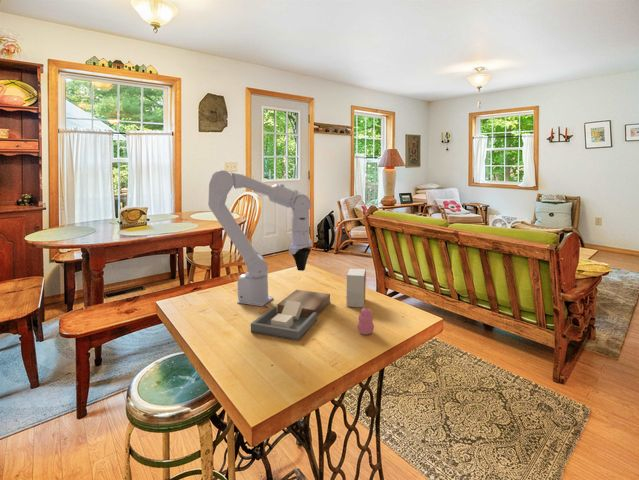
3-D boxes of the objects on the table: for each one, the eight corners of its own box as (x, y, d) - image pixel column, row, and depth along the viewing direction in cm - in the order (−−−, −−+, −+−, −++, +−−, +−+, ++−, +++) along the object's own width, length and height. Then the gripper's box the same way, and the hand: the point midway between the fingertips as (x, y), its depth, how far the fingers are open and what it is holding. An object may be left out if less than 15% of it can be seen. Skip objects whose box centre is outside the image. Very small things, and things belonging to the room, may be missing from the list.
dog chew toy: (358, 328, 101) (359, 303, 99) (375, 330, 99) (375, 305, 98) (355, 335, 97) (355, 309, 95) (372, 337, 95) (372, 311, 94)
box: (251, 332, 98) (250, 323, 98) (273, 313, 110) (273, 306, 110) (298, 340, 94) (298, 331, 93) (316, 320, 105) (316, 312, 105)
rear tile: (284, 317, 106) (281, 313, 104) (289, 304, 109) (286, 300, 107) (298, 320, 105) (295, 316, 103) (303, 306, 107) (300, 302, 105)
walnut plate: (277, 313, 110) (277, 304, 110) (296, 298, 123) (296, 289, 123) (314, 319, 106) (314, 309, 106) (330, 302, 119) (330, 294, 118)
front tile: (278, 313, 103) (279, 321, 104) (270, 319, 99) (271, 328, 100) (293, 315, 102) (293, 324, 102) (285, 322, 97) (285, 330, 98)
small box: (363, 308, 115) (364, 276, 112) (346, 306, 116) (346, 275, 114) (365, 299, 122) (366, 268, 120) (349, 297, 123) (349, 267, 121)
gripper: (303, 235, 112) (303, 277, 115) (319, 227, 125) (319, 265, 128) (282, 233, 114) (283, 275, 117) (300, 226, 128) (301, 263, 130)
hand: (301, 270), depth 123 cm, fingers closed
